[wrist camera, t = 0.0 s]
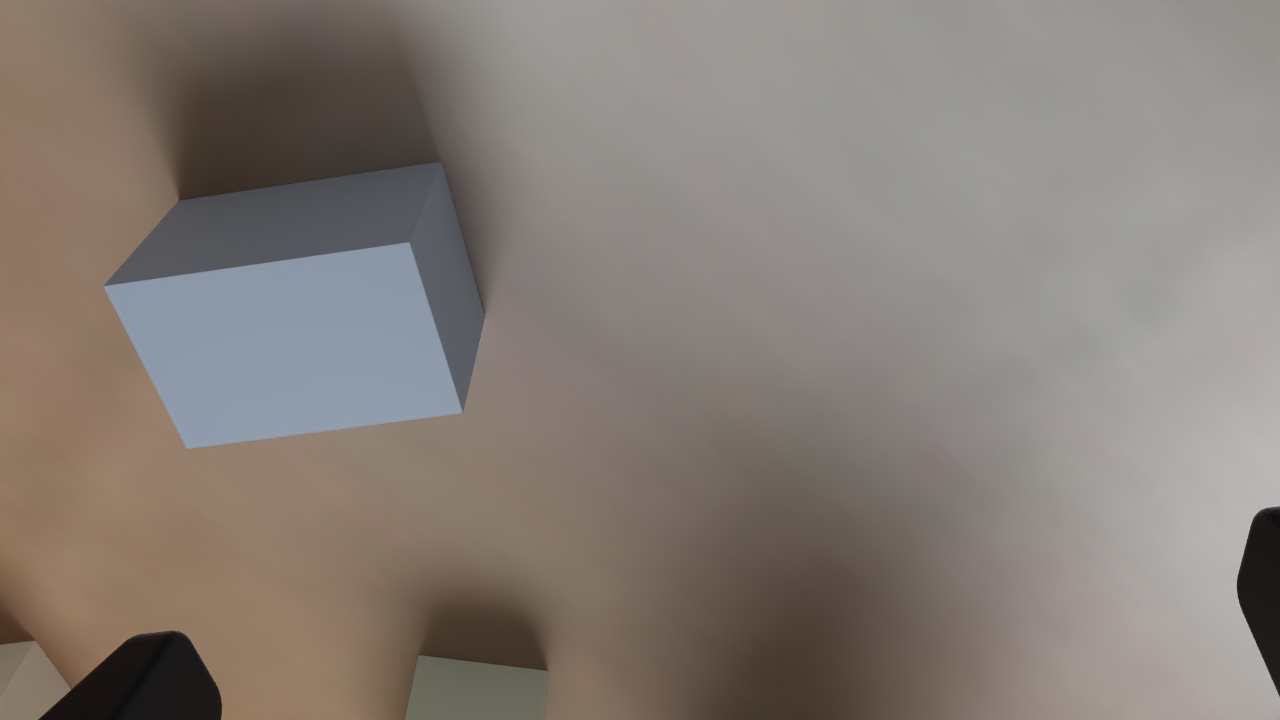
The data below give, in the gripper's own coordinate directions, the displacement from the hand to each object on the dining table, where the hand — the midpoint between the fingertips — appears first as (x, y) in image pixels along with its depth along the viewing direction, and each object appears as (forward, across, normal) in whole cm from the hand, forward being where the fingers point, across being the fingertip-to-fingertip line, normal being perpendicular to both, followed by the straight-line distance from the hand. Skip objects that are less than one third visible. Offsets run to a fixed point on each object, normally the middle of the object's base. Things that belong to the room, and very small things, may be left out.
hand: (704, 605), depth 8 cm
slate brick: (+15, +8, +3) cm, 17 cm away
